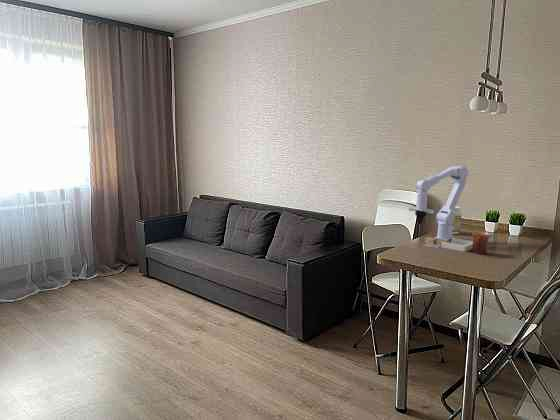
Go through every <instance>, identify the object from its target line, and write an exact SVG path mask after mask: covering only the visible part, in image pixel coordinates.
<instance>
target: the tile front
mask: <svg viewBox="0 0 560 420" xmlns="http://www.w3.org/2000/svg"><path fill="white" fill-rule="evenodd" d="M441 242H447V243H450V242H449V240H443V239H437V240H436V243H435V244H437V245H441Z"/></svg>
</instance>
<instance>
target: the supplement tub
mask: <svg viewBox="0 0 560 420" xmlns="http://www.w3.org/2000/svg"><path fill="white" fill-rule="evenodd" d="M444 207H445V205H443V206H442V208H444ZM454 212H455V214H456V215H455V220H454V222H453V223H452V227H453V230H452V235H458V234H459V233H460V232H461V223H462V212H461V206H457V205H456V206H455V209H454Z"/></svg>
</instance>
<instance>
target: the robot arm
mask: <svg viewBox="0 0 560 420" xmlns="http://www.w3.org/2000/svg"><path fill="white" fill-rule="evenodd" d="M468 175H469V169H468V168H467V167H466V166H460V165H459V166H457V165H451V166H450V167H447V168H446V169H445V170H443V171H441V172H439V173H438V174H433V173H432V174H430V175H429V176H428V177H424V178H423V180H422V179H420V180H418V181H417V182H416V184H415V188H416V193H417V194H416V203H415V205H416V207H414V206H409V207H408V211H410V212H411V211H412V212H414V215H415V216H416V220H417V224H418V225H423V221H424V218H425V217H426V215H427V214H434V213H435V210H434V209H430V208H427V204H428V194H429V193H428V192H429V190H430V189H431V188H432V187H433V186H435V185H437V184H439V183H440V181H441V180H443V179H445V178H448V177H451V179H452V180H453V181H454V184H453V187H452V188H451V189H452V190H451V191H450V194H449V196H448V199H447V201H446V203H445V205H444V206H445V207H444V208H443V207H441V208H440V209H439V211H438V212H437V214H436V216H435V219H436V221H437V223H438V225H437V235H436V236H435V237H434V238H436V239H437V240H439V239H442V240H448V241H449V240H452V238H454V237H453V234H452V230H453V227H452V223H453V222H454V220H455V215H456V214H455V212H454V209H455V206H457V203H458V201H459V200H460V197H461V195H462V193H463V192H464V191H463V190H464V188H465V186H466V184H467V178H468Z"/></svg>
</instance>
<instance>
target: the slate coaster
mask: <svg viewBox="0 0 560 420" xmlns="http://www.w3.org/2000/svg"><path fill="white" fill-rule="evenodd" d="M422 246H423V247H428V248H433V249H439V248H441V245H437V244H436V243H434V244H432V243H426V242H425V244H423V245H422Z"/></svg>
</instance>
